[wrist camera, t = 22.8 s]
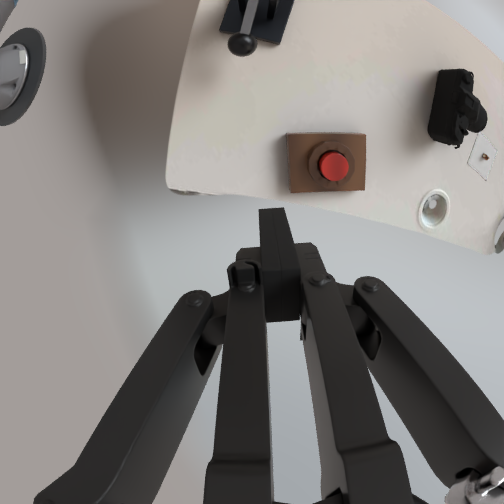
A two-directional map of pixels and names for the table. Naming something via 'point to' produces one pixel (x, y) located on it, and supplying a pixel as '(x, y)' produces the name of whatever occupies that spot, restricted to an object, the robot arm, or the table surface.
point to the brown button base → (313, 148)
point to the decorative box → (482, 156)
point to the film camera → (455, 108)
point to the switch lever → (245, 33)
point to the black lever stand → (259, 19)
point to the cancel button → (333, 166)
